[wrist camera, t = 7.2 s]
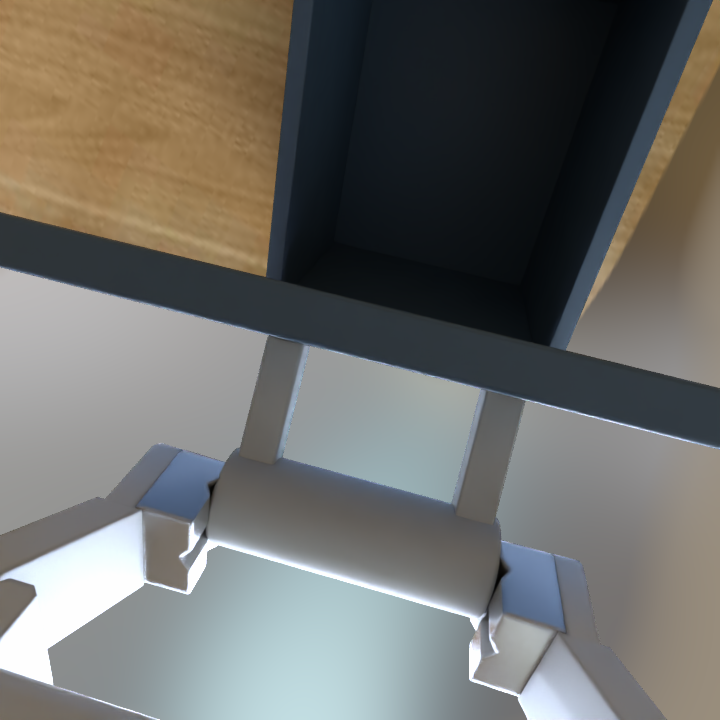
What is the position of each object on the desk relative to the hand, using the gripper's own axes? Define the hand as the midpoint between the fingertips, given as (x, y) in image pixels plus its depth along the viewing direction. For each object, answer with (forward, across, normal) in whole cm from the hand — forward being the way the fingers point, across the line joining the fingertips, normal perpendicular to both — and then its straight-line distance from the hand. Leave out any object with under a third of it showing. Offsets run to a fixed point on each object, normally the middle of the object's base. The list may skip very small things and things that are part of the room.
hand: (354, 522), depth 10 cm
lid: (+8, 0, 0) cm, 8 cm away
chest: (+29, 0, -4) cm, 29 cm away
